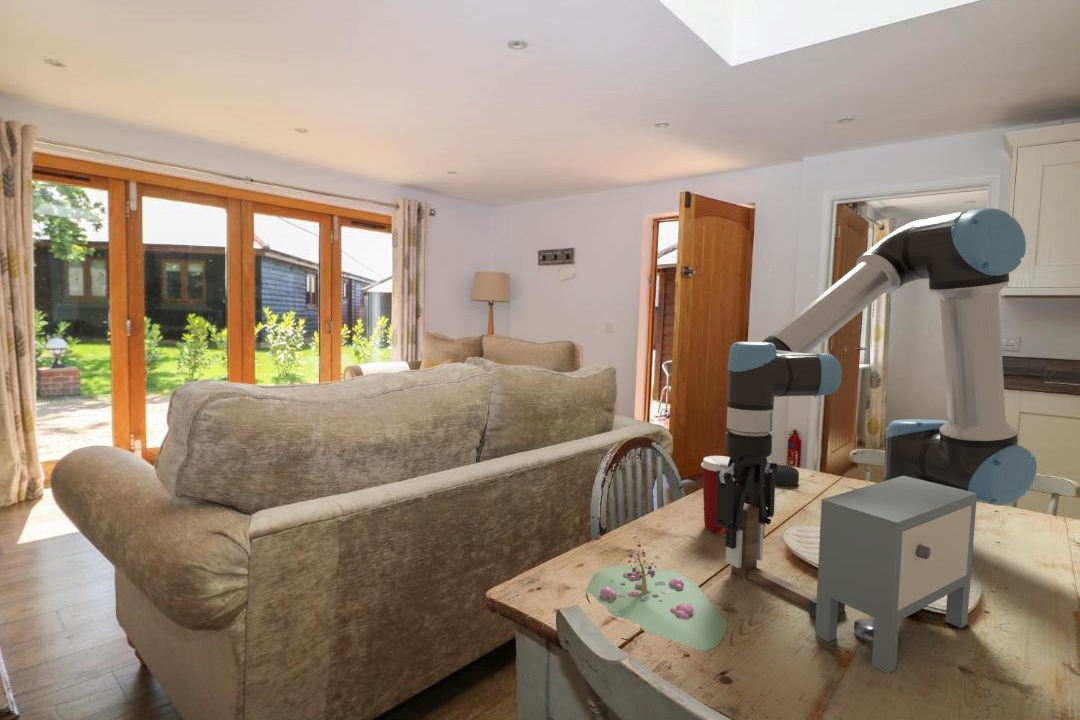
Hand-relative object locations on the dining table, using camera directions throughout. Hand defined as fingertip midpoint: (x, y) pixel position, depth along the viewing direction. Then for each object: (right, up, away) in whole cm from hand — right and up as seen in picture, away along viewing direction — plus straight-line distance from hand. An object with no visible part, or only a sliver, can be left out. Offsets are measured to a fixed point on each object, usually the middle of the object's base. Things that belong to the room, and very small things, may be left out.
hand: (744, 560), depth 99 cm
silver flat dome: (+12, -4, -19) cm, 23 cm away
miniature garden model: (-17, -4, -10) cm, 20 cm away
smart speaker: (+29, +2, +53) cm, 60 cm away
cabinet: (+15, -4, -17) cm, 23 cm away
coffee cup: (+2, -1, +20) cm, 20 cm away
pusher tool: (+4, -3, -6) cm, 8 cm away
